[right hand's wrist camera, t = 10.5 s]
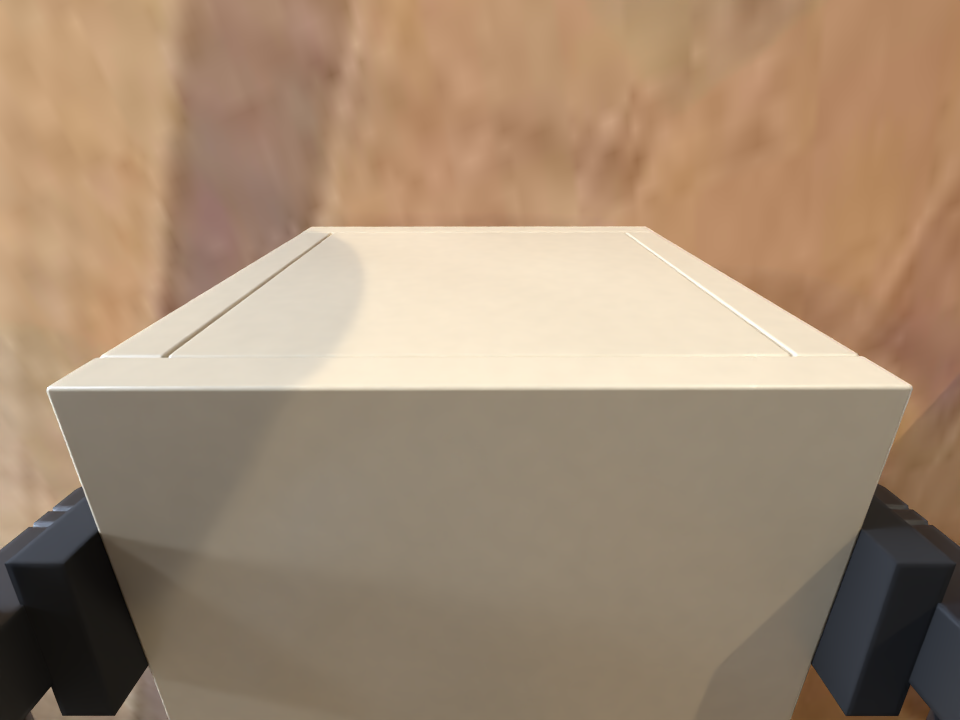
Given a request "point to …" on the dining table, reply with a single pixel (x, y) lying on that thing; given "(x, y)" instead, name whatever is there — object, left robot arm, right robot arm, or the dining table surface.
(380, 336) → the cabinet
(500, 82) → the dining table surface
